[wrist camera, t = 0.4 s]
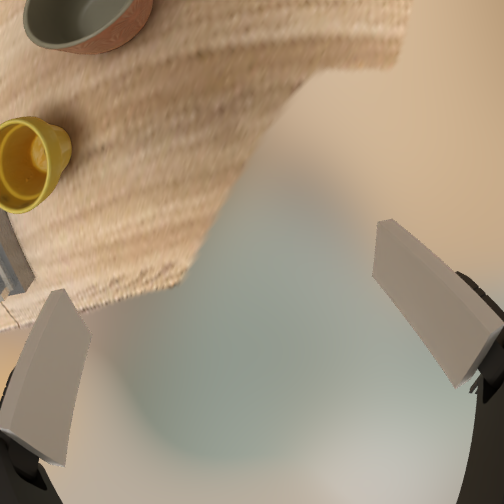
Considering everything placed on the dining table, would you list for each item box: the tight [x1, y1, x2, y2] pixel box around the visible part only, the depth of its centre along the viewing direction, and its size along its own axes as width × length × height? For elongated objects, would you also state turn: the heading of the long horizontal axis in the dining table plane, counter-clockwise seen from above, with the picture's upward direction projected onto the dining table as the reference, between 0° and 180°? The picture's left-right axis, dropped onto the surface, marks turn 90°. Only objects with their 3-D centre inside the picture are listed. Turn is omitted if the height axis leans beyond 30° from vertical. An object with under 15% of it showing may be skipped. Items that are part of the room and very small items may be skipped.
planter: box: [23, 0, 153, 54], centre depth 17 cm, size 12×12×11 cm
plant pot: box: [0, 116, 72, 214], centre depth 24 cm, size 10×10×10 cm
